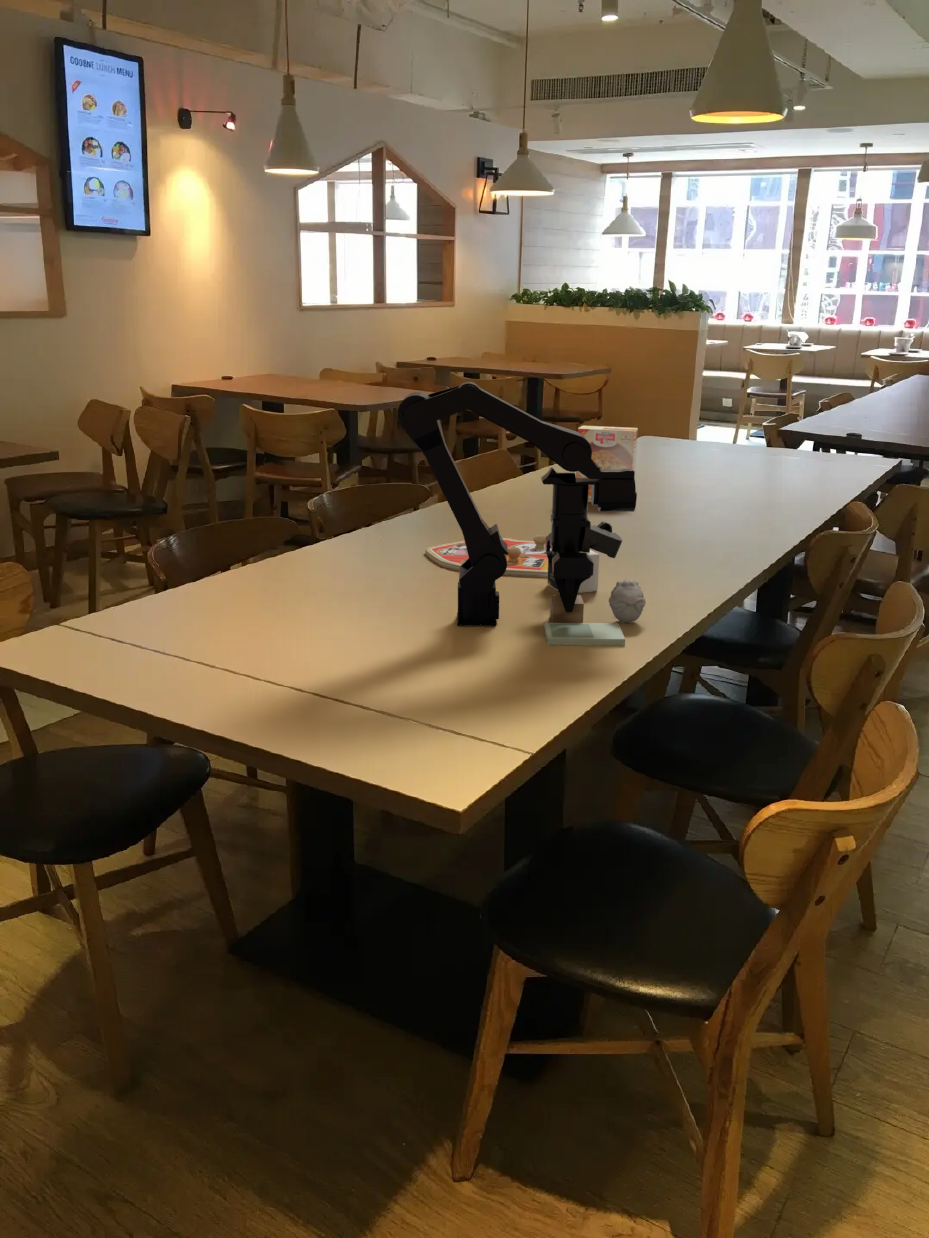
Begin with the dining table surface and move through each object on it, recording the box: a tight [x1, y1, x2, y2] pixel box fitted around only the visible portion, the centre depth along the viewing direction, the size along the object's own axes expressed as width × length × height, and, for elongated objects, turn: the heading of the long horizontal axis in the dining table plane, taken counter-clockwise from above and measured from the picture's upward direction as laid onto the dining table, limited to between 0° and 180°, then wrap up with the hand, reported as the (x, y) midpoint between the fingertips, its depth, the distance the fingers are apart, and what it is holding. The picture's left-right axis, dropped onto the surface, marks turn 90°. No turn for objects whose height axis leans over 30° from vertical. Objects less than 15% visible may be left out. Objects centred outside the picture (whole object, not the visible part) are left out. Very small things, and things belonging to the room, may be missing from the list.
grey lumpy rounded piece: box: [608, 579, 647, 624], centre depth 164 cm, size 6×7×7 cm
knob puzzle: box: [424, 534, 551, 579], centre depth 205 cm, size 29×30×4 cm
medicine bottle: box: [547, 549, 600, 594], centre depth 182 cm, size 7×7×12 cm
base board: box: [543, 622, 626, 646], centre depth 157 cm, size 12×8×1 cm, turn 90°
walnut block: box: [549, 594, 585, 623], centre depth 164 cm, size 5×5×4 cm
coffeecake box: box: [575, 425, 639, 503], centre depth 262 cm, size 15×7×20 cm, turn 73°
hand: (566, 603), depth 164 cm, fingers open, 9 cm apart
